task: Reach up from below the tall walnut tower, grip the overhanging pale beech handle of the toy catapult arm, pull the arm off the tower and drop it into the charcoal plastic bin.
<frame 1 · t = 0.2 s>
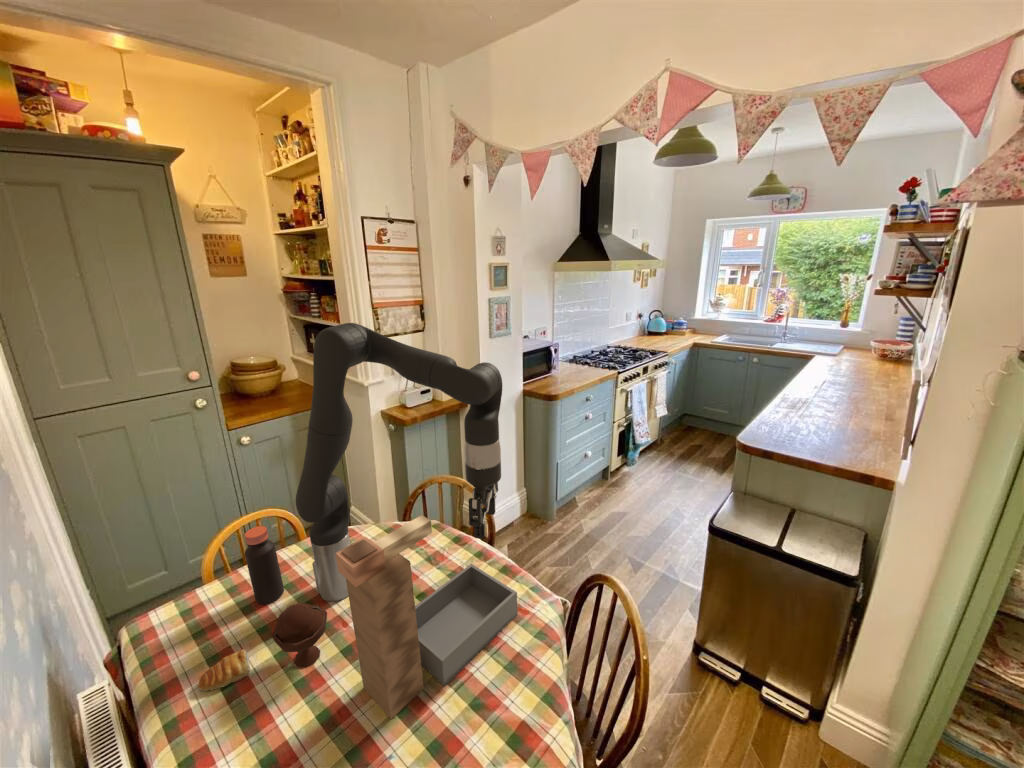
hand: (485, 525, 94), 30 cm above the table, tool pointing down, fingers open, 8 cm apart
pastry: (230, 676, 93), on the table
bottle: (270, 595, 115), on the table
catapult arm: (415, 537, 86), point 32 cm above the table, touching tower
bin: (460, 628, 103), on the table
ice cream bowl: (307, 657, 97), on the table
tower: (393, 688, 89), on the table
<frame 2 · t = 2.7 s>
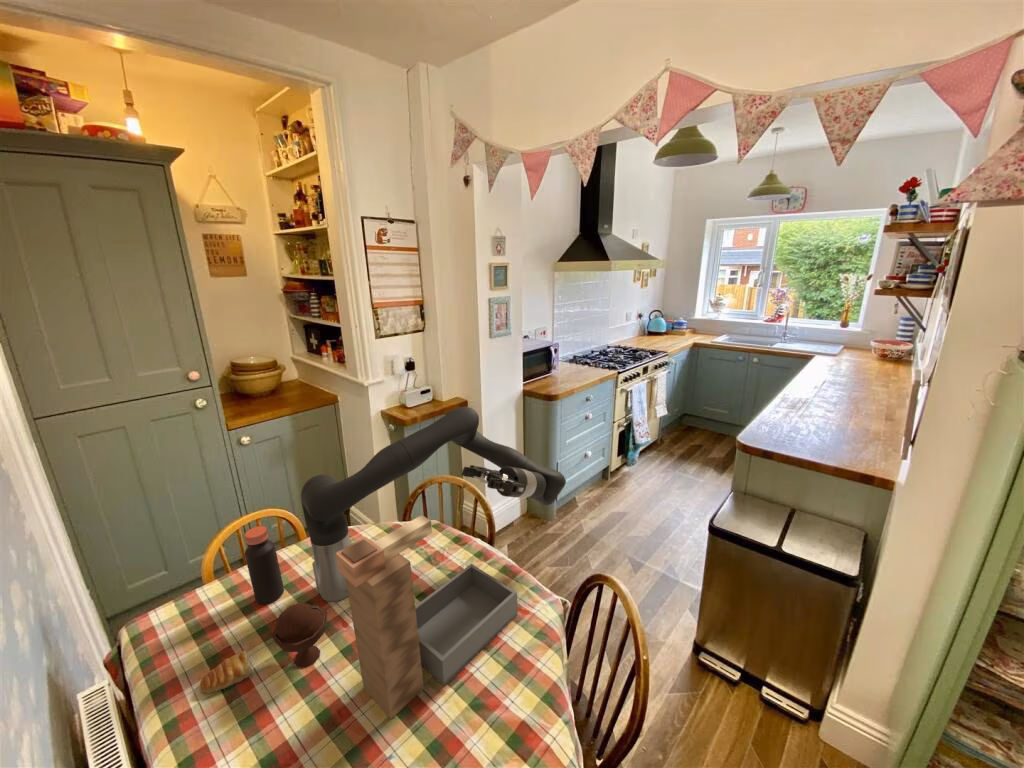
hand: (476, 476, 99), 37 cm above the table, tool pointing upward, fingers open, 8 cm apart
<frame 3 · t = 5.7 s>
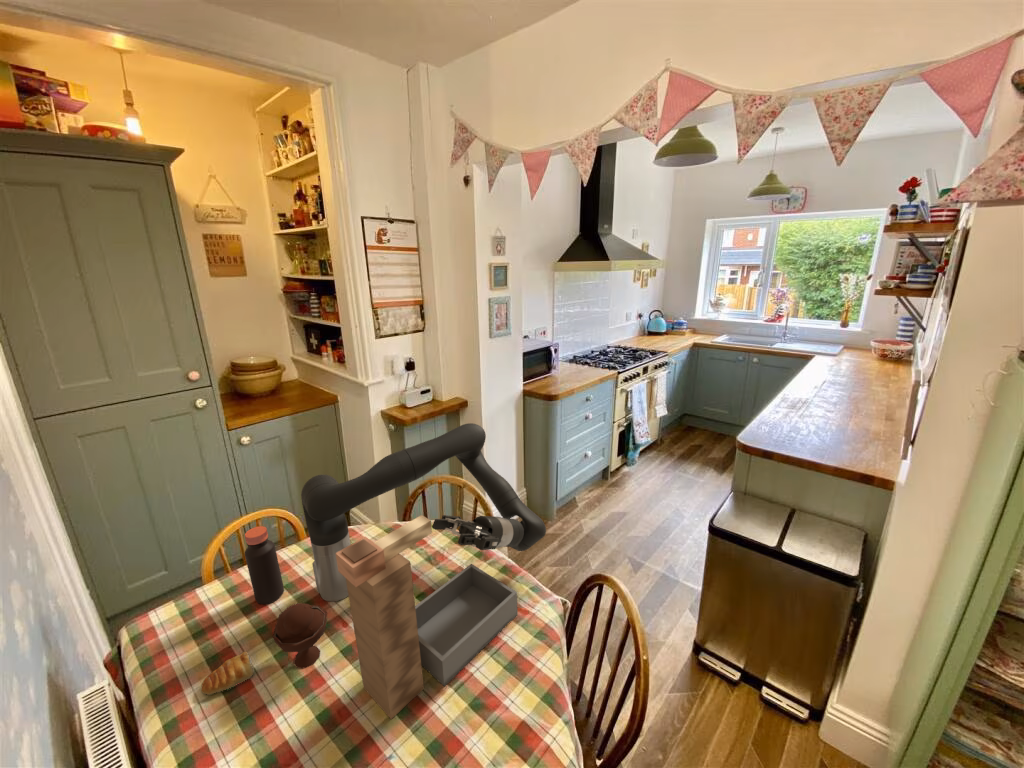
hand: (446, 531, 93), 29 cm above the table, tool pointing upward, fingers open, 8 cm apart
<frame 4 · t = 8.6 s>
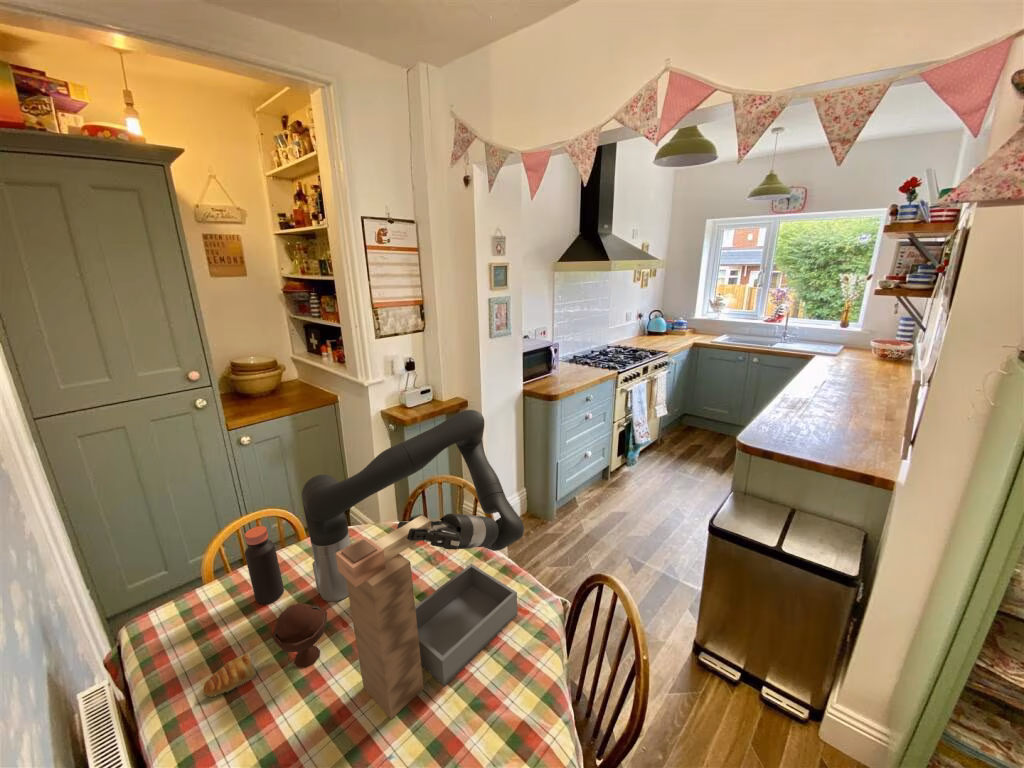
hand: (404, 530, 84), 35 cm above the table, tool pointing upward, fingers closed on catapult arm, 3 cm apart
catapult arm: (415, 537, 86), point 32 cm above the table, touching gripper, tower
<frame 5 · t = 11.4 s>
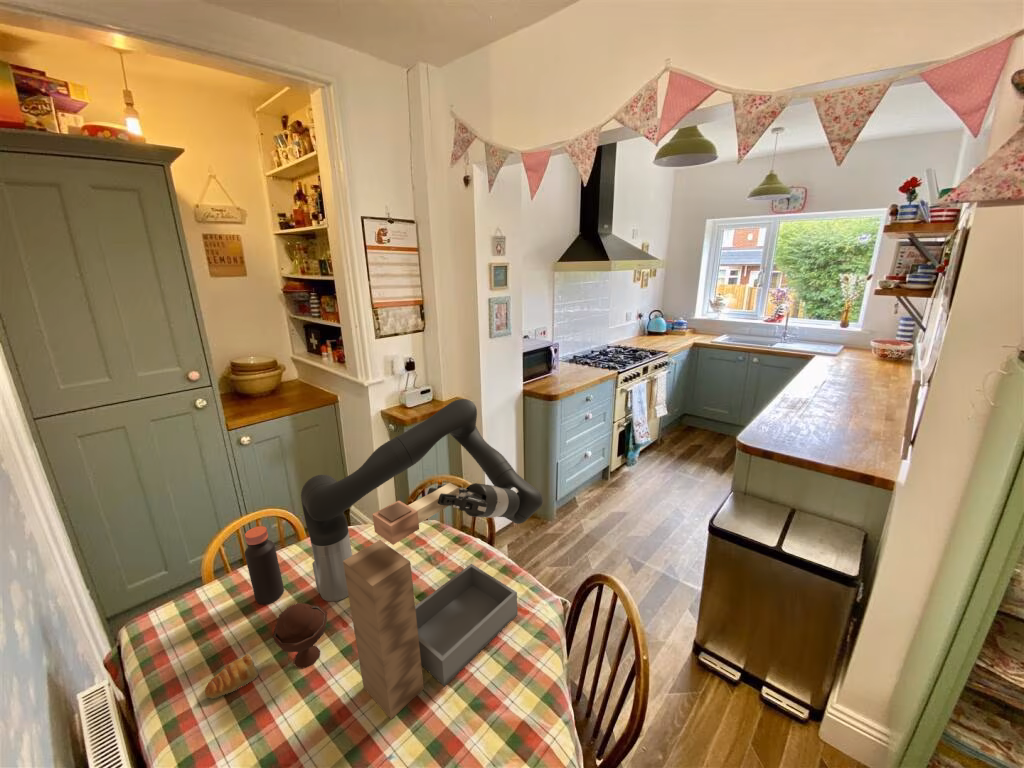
hand: (434, 496, 88), 39 cm above the table, tool pointing upward, fingers closed on catapult arm, 3 cm apart
catapult arm: (444, 503, 91), point 36 cm above the table, touching gripper
when the fingers open (26 cm above the table, at t = 14.7 s): catapult arm drops 22 cm, resting on bin.
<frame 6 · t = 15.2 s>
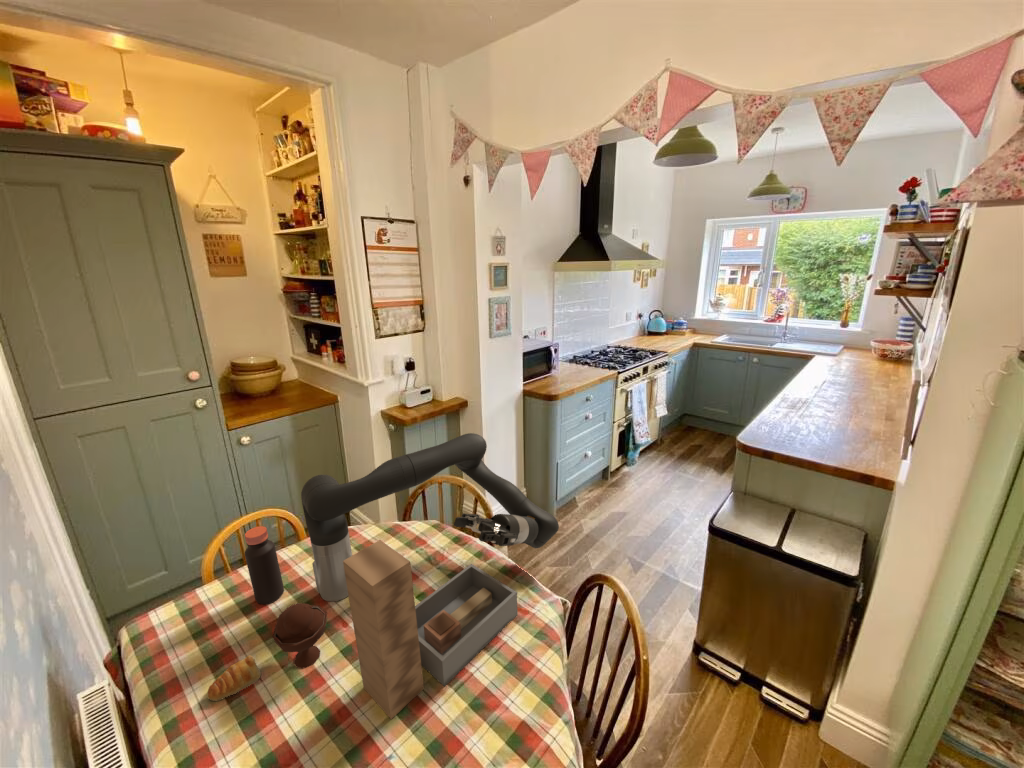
hand: (468, 528, 99), 26 cm above the table, tool pointing upward, fingers open, 8 cm apart
catapult arm: (479, 606, 108), point 1 cm above the table, touching bin
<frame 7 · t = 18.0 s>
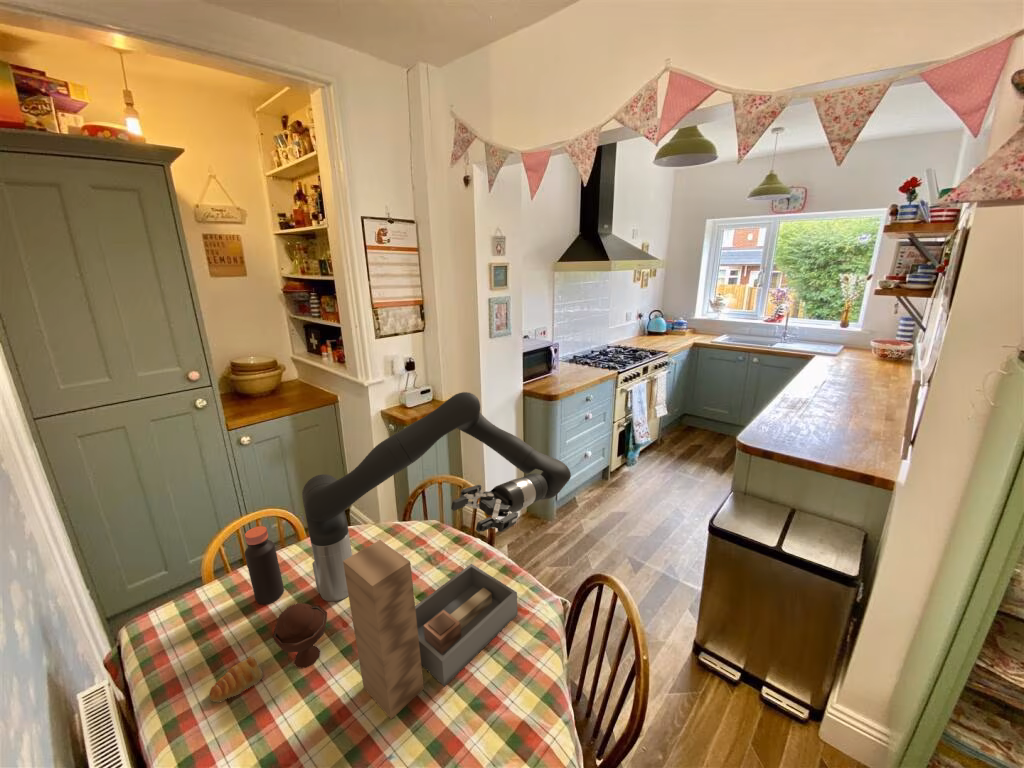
hand: (464, 516, 94), 32 cm above the table, tool horizontal, fingers open, 8 cm apart
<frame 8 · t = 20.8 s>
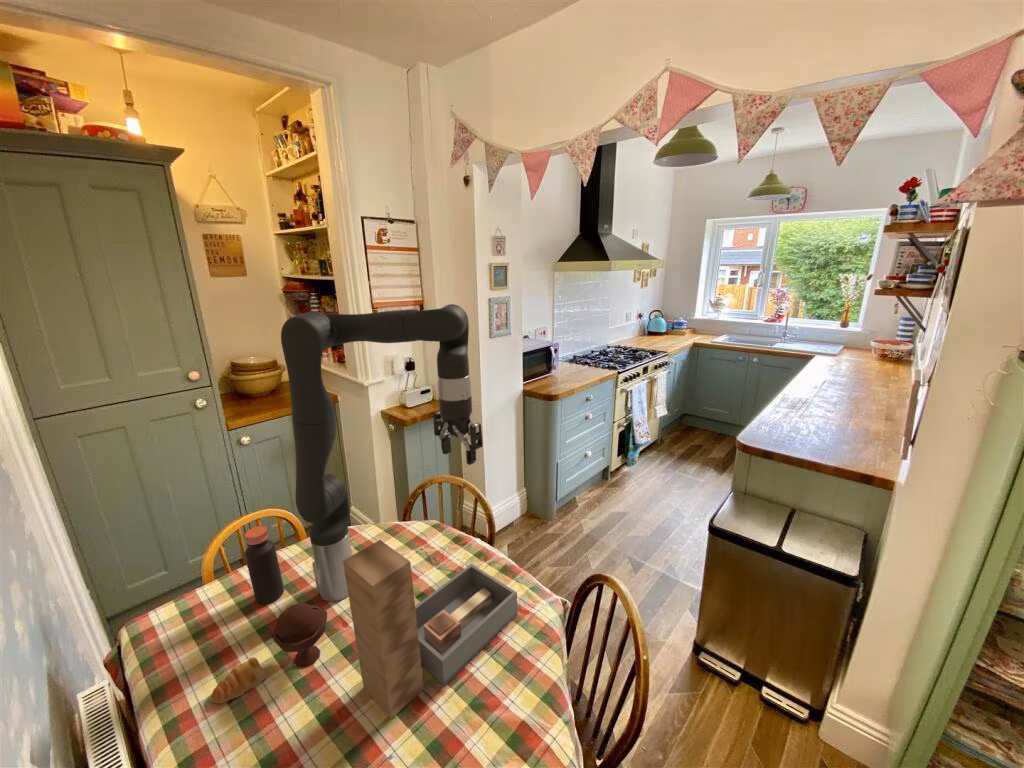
hand: (458, 458, 102), 40 cm above the table, tool pointing down, fingers open, 8 cm apart
at the end: catapult arm 7.2 cm from the bin (horizontally); catapult arm point 1.0 cm above the table; catapult arm touching bin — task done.
